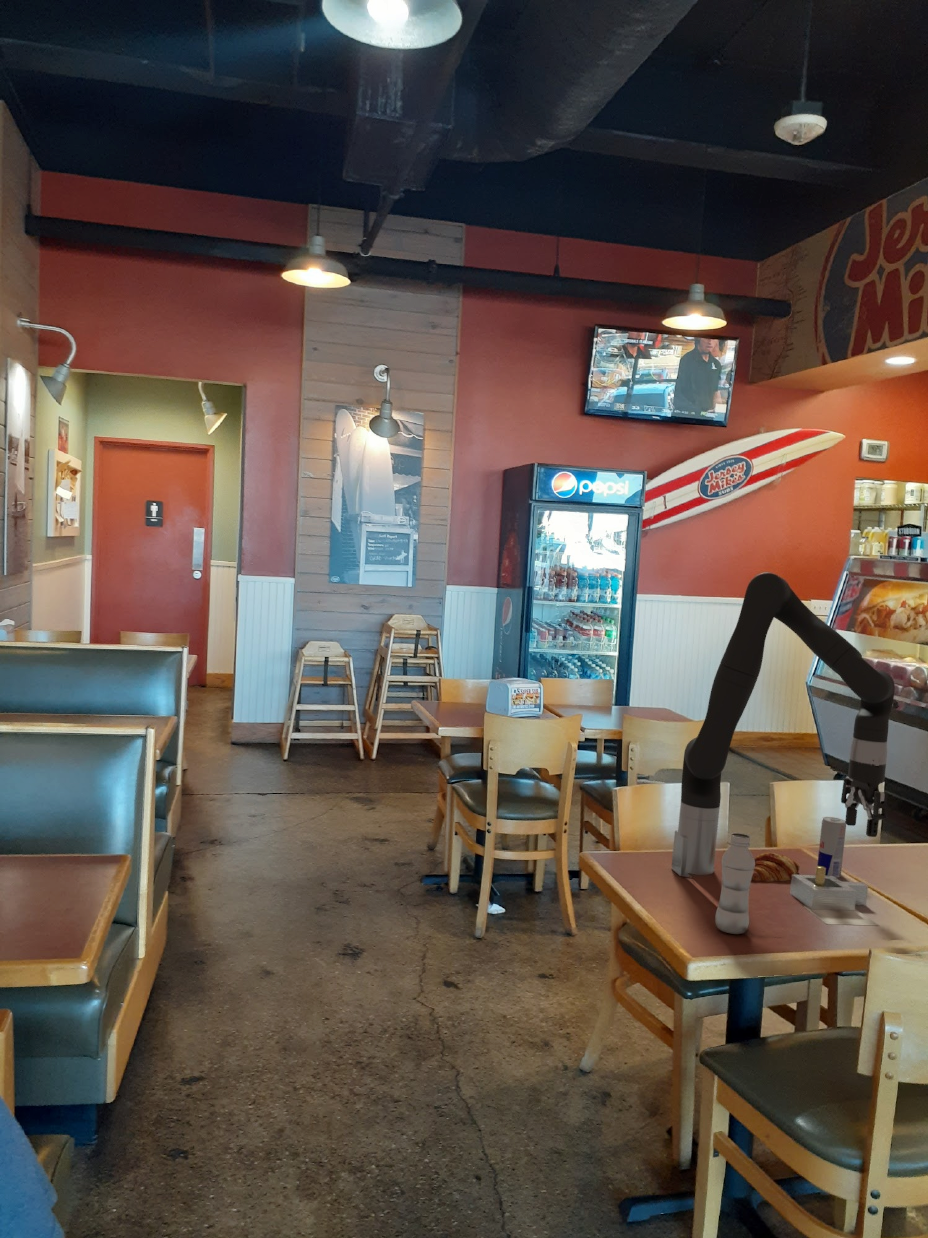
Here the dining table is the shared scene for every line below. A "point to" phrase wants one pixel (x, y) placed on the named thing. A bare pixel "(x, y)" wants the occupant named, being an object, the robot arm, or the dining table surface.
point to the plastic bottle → (735, 886)
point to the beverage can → (832, 845)
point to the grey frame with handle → (828, 893)
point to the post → (820, 876)
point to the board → (842, 917)
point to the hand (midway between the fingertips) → (860, 830)
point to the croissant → (774, 868)
